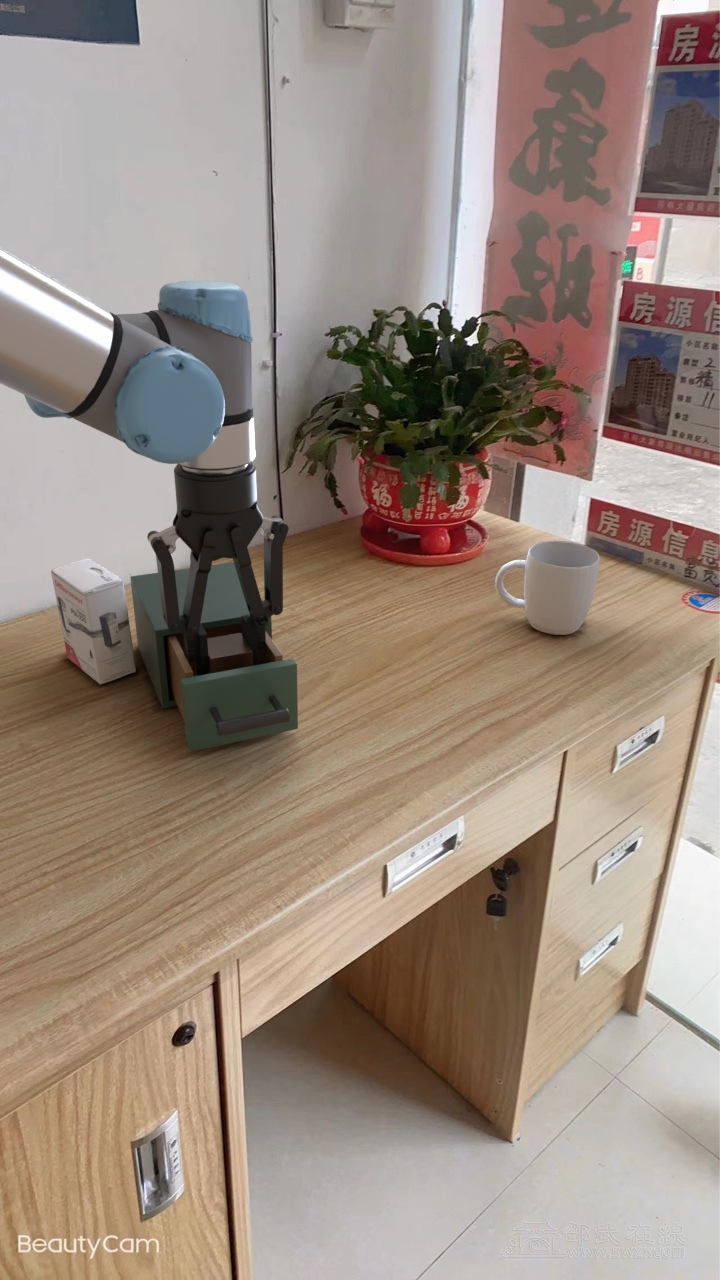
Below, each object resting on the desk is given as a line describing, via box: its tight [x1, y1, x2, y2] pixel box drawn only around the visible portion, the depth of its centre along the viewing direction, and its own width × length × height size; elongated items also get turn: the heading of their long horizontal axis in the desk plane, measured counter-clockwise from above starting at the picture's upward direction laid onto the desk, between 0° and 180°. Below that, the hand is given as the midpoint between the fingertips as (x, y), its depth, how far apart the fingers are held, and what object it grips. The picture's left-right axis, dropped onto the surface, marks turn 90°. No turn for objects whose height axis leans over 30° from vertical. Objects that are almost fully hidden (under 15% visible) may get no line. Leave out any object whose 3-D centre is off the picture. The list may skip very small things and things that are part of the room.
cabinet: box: [129, 561, 273, 709], centre depth 102 cm, size 15×13×10 cm
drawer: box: [163, 623, 299, 753], centre depth 91 cm, size 18×11×8 cm, turn 23°
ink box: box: [50, 558, 137, 685], centre depth 101 cm, size 9×5×12 cm, turn 43°
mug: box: [494, 540, 601, 636], centre depth 114 cm, size 13×9×10 cm
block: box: [207, 633, 253, 674], centre depth 91 cm, size 4×4×4 cm
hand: (227, 679), depth 92 cm, fingers closed on block, 4 cm apart
